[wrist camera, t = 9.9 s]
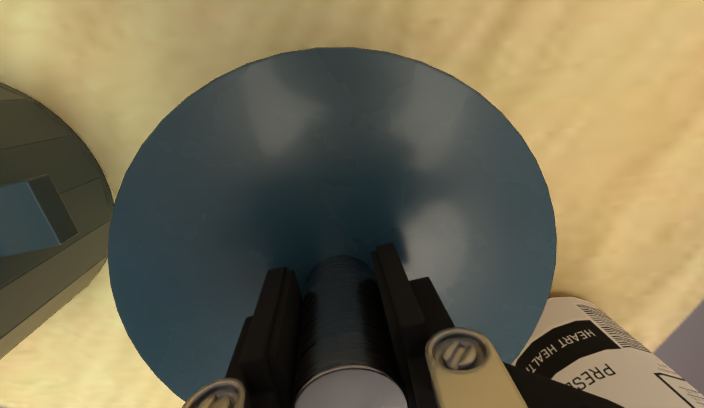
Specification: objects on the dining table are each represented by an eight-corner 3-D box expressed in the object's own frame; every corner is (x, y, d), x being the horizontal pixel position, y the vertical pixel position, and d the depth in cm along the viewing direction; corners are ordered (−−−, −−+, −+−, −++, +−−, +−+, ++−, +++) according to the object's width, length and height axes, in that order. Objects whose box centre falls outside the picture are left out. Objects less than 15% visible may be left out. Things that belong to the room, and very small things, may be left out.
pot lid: (46, 110, 11) (-284, 140, 5) (527, 1, 10) (764, -99, 5) (211, 453, 15) (143, 671, 10) (544, 379, 15) (674, 555, 9)
